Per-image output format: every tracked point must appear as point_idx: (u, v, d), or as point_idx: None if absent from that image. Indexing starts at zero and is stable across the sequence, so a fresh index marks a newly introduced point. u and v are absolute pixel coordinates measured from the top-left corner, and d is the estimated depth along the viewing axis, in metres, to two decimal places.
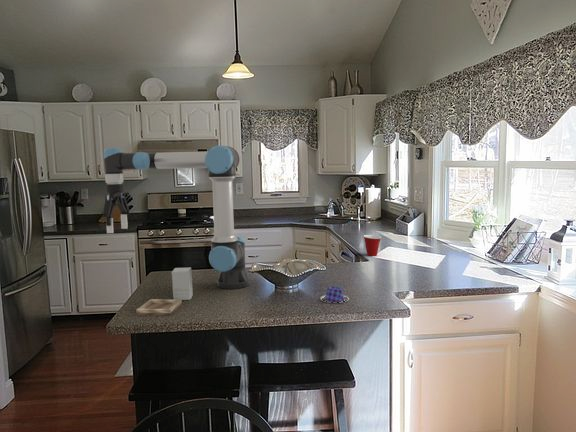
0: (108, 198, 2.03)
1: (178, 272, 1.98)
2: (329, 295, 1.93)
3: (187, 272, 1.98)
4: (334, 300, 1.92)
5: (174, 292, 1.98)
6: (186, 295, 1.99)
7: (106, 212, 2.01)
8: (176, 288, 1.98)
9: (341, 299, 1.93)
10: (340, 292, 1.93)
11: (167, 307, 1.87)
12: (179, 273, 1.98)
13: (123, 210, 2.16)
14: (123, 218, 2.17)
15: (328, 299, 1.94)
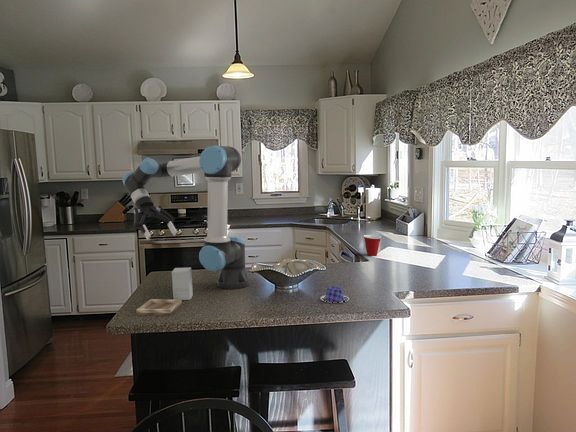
0: (134, 211, 2.10)
1: (178, 272, 1.98)
2: (329, 295, 1.93)
3: (187, 272, 1.98)
4: (334, 300, 1.92)
5: (174, 292, 1.98)
6: (186, 295, 1.99)
7: (134, 222, 2.06)
8: (176, 288, 1.98)
9: (341, 299, 1.93)
10: (340, 292, 1.93)
11: (167, 307, 1.87)
12: (179, 273, 1.98)
13: (165, 219, 2.16)
14: (170, 226, 2.16)
15: (328, 299, 1.94)
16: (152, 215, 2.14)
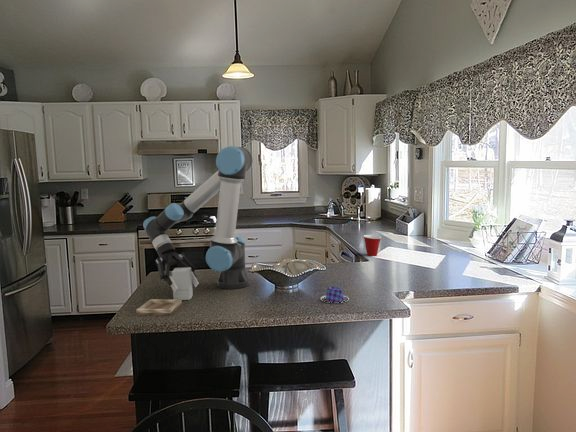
0: (157, 261, 2.01)
1: (178, 272, 1.98)
2: (329, 295, 1.93)
3: (187, 272, 1.98)
4: (334, 300, 1.92)
5: (174, 292, 1.98)
6: (186, 295, 1.99)
7: (160, 273, 1.97)
8: None
9: (341, 299, 1.93)
10: (340, 292, 1.93)
11: (167, 307, 1.87)
12: (179, 273, 1.98)
13: None
14: None
15: (328, 299, 1.93)
16: (174, 263, 2.06)
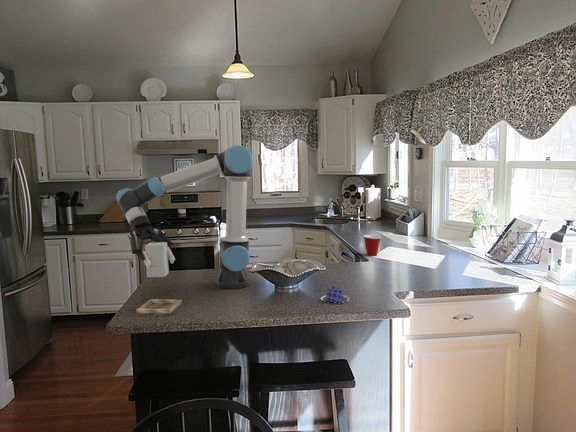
0: (129, 235, 1.84)
1: (152, 246, 1.81)
2: (329, 295, 1.93)
3: (161, 246, 1.81)
4: (334, 300, 1.92)
5: (148, 269, 1.82)
6: (160, 272, 1.82)
7: (132, 247, 1.81)
8: None
9: (341, 299, 1.93)
10: (340, 292, 1.93)
11: (167, 307, 1.87)
12: (153, 247, 1.81)
13: None
14: None
15: (328, 299, 1.93)
16: (149, 237, 1.89)
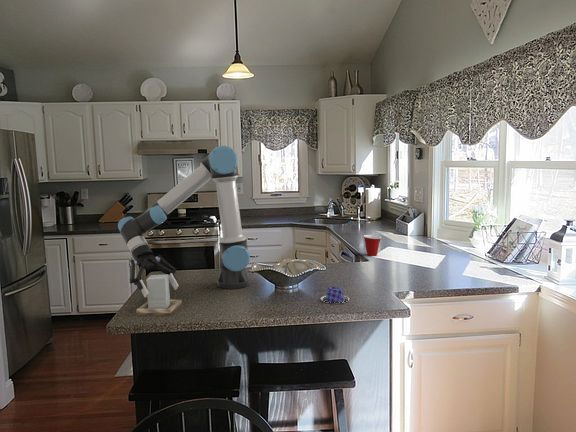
0: (130, 264, 1.86)
1: (153, 280, 1.82)
2: (328, 295, 1.93)
3: (163, 280, 1.82)
4: (333, 300, 1.92)
5: (149, 302, 1.83)
6: (162, 305, 1.83)
7: (130, 276, 1.81)
8: (151, 297, 1.83)
9: (340, 300, 1.92)
10: (340, 293, 1.93)
11: None
12: (155, 280, 1.82)
13: (166, 270, 1.92)
14: (170, 278, 1.91)
15: (327, 299, 1.94)
16: (151, 266, 1.90)
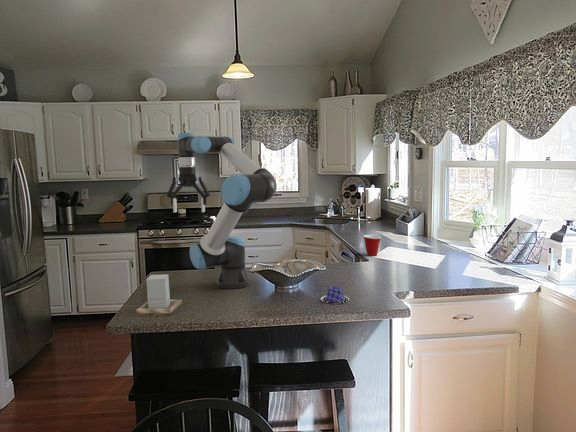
0: None
1: (153, 280, 1.82)
2: (328, 295, 1.94)
3: (163, 280, 1.82)
4: (332, 300, 1.92)
5: (149, 302, 1.83)
6: (162, 305, 1.83)
7: None
8: (151, 297, 1.83)
9: (339, 300, 1.92)
10: (339, 293, 1.92)
11: None
12: (155, 280, 1.82)
13: None
14: None
15: (327, 299, 1.94)
16: None
